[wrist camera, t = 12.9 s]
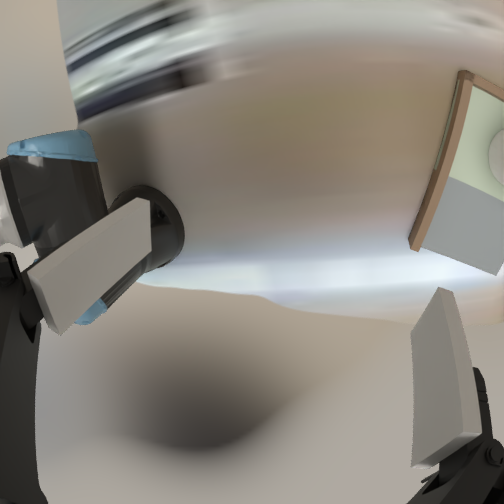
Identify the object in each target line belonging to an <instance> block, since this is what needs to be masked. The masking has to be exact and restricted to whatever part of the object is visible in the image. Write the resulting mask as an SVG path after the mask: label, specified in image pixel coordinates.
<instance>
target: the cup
mask: <svg viewBox="0 0 504 504" xmlns="http://www.w3.org/2000/svg"><path fill="white" fill-rule="evenodd" d="M488 156H489V165H490V169H491V171H492V173H493V175H494V177H495V178H496V179H497V181H499V182H500V183H501V184H503V185H504V129H503V130H501V131H500V132H498V133H497V134H496V135H495V137H494V138H493V139H492V142H491V144H490V148H489V153H488Z"/></svg>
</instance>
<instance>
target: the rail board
mask: <svg viewBox="0 0 504 504" xmlns="http://www.w3.org/2000/svg"><path fill="white" fill-rule="evenodd" d="M503 129H504V90H503V89H501V88H500V87H498V86H496V85H494V84H492V83H491V82H489V81H487V80H485V79H483V78H481V77H479V76H477V75H475V74H473V73H471V72H469V71H467V70H464V71H459V72H458V77H457V82H456V87H455V92H454V97H453V101H452V106H451V110H450V114H449V118H448V122H447V126H446V130H445V133H444V137H443V141H442V144H441V148H440V151H439V154H438V158H437V161H436V164H435V167H434V170H433V173H432V176H431V179H430V182H429V185H428V188H427V191H426V194H425V197H424V199H423V202H422V205H421V207H420V210H419V213H418V215H417V218H416V220H415V223H414V226H413V228H412V230H411V233H410V235H409V238H408V241H409V245H410V249H411V250H414V251H417V252H419V250H420V247H422V248H425V249H428V250H431V251H433V252H436V253H439V254H441V255H444V256H447V257H450V258H452V259H455V260H457V261H460V262H463V263H465V264H468V265H470V266H473V267H476V268H478V269H481V270H483V271H486V272H488V273H491V274H493V275H495V276H496V275H497V273H498V271H499V270H500V268H501V266H502V264H503V262H504V185H503V184H501V183H500V182H499V181H497V179H496V178H495V177H494V175H493V173H492V171H491V169H490V165H489V156H488V153H489V148H490V144H491V142H492V139H493V138H494V137H495V135H496V134H497V133H498V132H500V131H501V130H503Z"/></svg>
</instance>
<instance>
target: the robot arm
mask: <svg viewBox="0 0 504 504" xmlns="http://www.w3.org/2000/svg"><path fill="white" fill-rule="evenodd" d="M7 154H8V155H9V156H8V157H6V158H3V159H1V160H0V246H1V245H3V244H5V243H11V244H13V245H15V246H18V247H20V248H23V247H25V246H27V245H29V244H31V243H34V245H35V248H36V250H37V253H38V256H39V258H38V259H35V260H34V262H33V264H32V265H30V266H29V267H28V268H26V269H25V270H24V271H23V272H20V270H19V267H18V264H17V261H16V257H15V255H14V254H13V253H11V252H3V253H0V504H48V502H47V499H46V497H45V495H44V494H43V492H42V491H41V489H40V486H39V481H38V472H37V461H36V446H35V388H36V387H35V386H36V372H37V361H38V351H39V342H40V335H41V323H40V320H41V319H42V318H43V317H44V318H45V320H46V323H47V325H48V327H49V328H50V329H51V330H53V331H54V332H55V333H57V334H58V335H60V336H61V335H62V334H63V333H64V332H65V331H66V330H67V329H68V328H69V327H70V326H71V325H72V324H73V323H75V324H79V325H87V324H90V323H92V322H93V321H94V320H95V319H96V318H98V317H99V316H100V315H101V314H102V313H105V312H106V311H107V309H108V308H109V307H110V306H111V305H112V304H113V303H114V302H115V301H116V300H117V299H118V298H119V297H120V296H121V295H122V294H123V293H124V292H125V291H126V290H127V289H128V288H129V287H130V286H131V285H132V284H133V283H134V282H135V281H136V280H137V279H138V278H139V277H140V276H141V275H143V274H144V273H147V272H149V271H152V270H154V269H156V268H160V267H163V266H165V265H167V264H169V263H170V262H171V261H172V260H173V259H174V258H175V257H176V256H177V255H178V254H179V253H180V251H181V249H182V247H183V243H184V228H183V224H182V221H181V218H180V216H179V214H178V212H177V210H176V208H175V207H174V205H173V204H172V203H171V202H170V200H169V199H168V198H167V197H166V196H164V195H163V194H162V193H161V192H159V191H158V190H156V189H154V188H151V187H148V186H141V185H140V186H134V187H131V188H129V189H128V190H126V191H124V192H122V193H121V194H120V195H118V196H117V198H116V199H115V200H114V202H113V204H112V205H111V207H110V208H109V209H107V205H106V201H105V197H104V193H103V189H102V184H101V180H100V175H99V171H98V165H97V162H98V159H97V158H96V156H95V152H94V148H93V143H92V139H91V137H90V135H89V134H88V133H87V132H86V131H84V130H70V131H64V132H57V133H52V134H47V135H42V136H38V137H33V138H29V139H25V140H22V141H17V142H14V143H11V144H9V146H8V149H7ZM411 345H412V361H413V387H414V419H413V445H412V446H413V447H412V460H411V468H423V469H429V468H431V467H433V466H434V465H436V464H438V463H439V471H437V472H436V473H434V474H432V475H430V476H428V477H427V478H425V479H423V480H422V481H421V483H424V482H426V481H428V482H427V483H426V484H425V485H424V486H423V487H422V488H421V489H420V490H419V491H418V493H417V494H416V495H415V496H414V497H413V498H412V499H411V500H410V501H409V502H408V503H407V504H504V448H503V446H502V444H501V443H500V442H499V441H497V440H496V439H493V434H492V425H491V417H490V410H489V404H488V403H487V402H488V398H487V394H486V386H485V381H484V378H483V376H482V374H481V373H480V371H479V369H478V368H475V367H472V362H471V358H470V354H469V349H468V345H467V340H466V336H465V333H464V329H463V325H462V321H461V318H460V314H459V311H458V307H457V304H456V301H455V298H454V295H453V292H452V291H449V290H446V289H443V288H440V287H438V288H437V290H436V292H435V294H434V296H433V297H432V299H431V301H430V302H429V304H428V306H427V308H426V309H425V311H424V312H423V314H422V316H421V317H420V319H419V321H418V322H417V324H416V325H415V327H414V329H413V330H412V332H411Z"/></svg>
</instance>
